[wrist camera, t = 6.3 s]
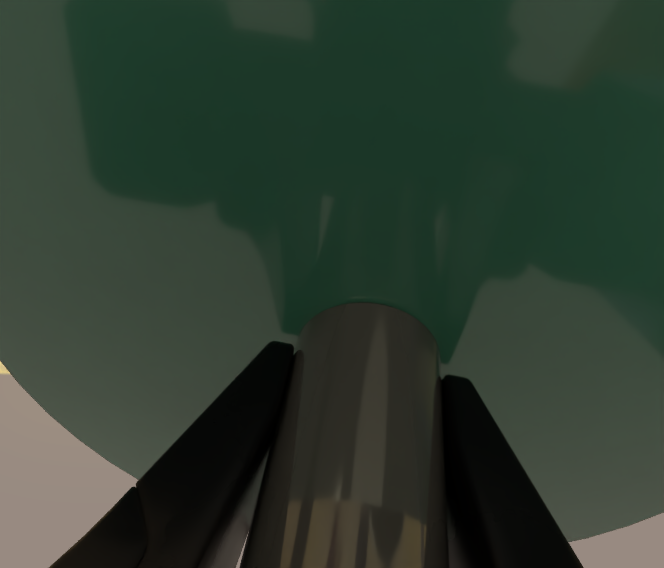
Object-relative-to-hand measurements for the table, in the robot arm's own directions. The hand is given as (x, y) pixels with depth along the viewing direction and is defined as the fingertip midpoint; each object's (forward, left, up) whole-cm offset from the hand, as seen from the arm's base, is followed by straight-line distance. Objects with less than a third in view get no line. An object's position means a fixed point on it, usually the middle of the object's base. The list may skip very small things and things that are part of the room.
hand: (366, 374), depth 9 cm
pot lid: (0, 0, -1) cm, 1 cm away
